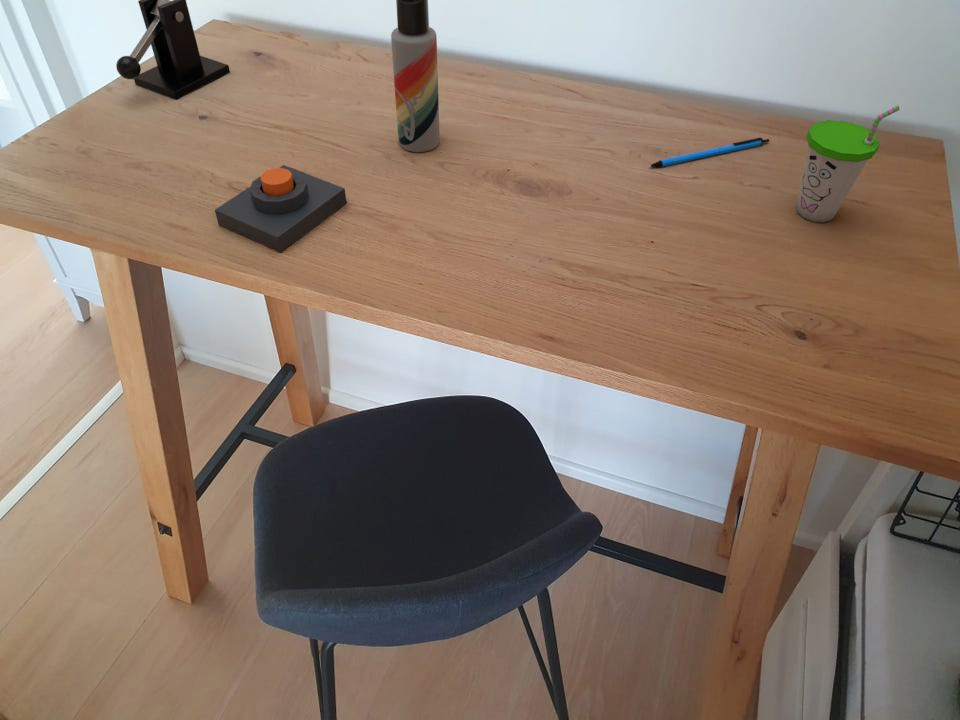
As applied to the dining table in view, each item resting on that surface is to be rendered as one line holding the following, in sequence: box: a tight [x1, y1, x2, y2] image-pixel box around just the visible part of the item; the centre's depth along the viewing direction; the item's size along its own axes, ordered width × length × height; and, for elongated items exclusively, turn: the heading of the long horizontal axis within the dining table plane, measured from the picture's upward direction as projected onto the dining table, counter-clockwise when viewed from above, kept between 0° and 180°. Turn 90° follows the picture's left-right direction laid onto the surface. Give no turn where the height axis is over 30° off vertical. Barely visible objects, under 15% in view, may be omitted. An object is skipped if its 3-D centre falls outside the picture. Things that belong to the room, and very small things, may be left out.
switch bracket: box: [133, 0, 231, 100], centre depth 115 cm, size 11×9×12 cm
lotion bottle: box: [390, 0, 440, 153], centre depth 99 cm, size 6×6×20 cm
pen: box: [649, 137, 770, 168], centre depth 104 cm, size 1×19×1 cm, turn 112°
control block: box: [214, 164, 348, 253], centre depth 92 cm, size 12×10×4 cm
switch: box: [115, 0, 171, 81], centre depth 111 cm, size 13×3×3 cm
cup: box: [795, 105, 900, 224], centre depth 90 cm, size 8×8×15 cm
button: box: [260, 167, 294, 196], centre depth 91 cm, size 4×4×2 cm
